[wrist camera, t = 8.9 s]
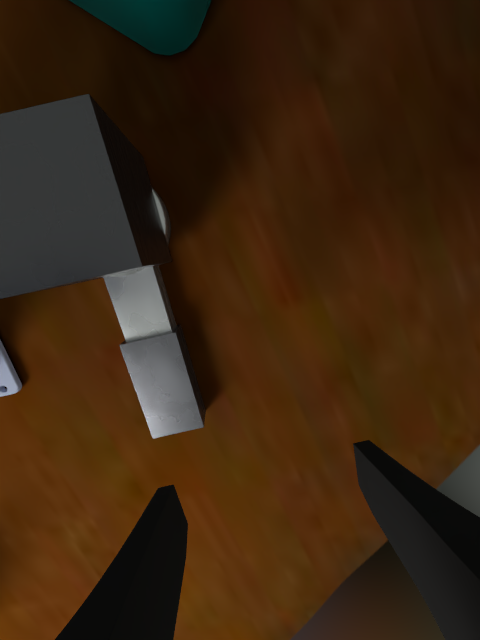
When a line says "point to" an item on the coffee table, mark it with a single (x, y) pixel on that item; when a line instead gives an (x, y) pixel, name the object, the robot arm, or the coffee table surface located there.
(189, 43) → the teal green bottle
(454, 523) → the robot arm
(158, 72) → the coffee table surface
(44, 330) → the coffee table surface
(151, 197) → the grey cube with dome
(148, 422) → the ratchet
